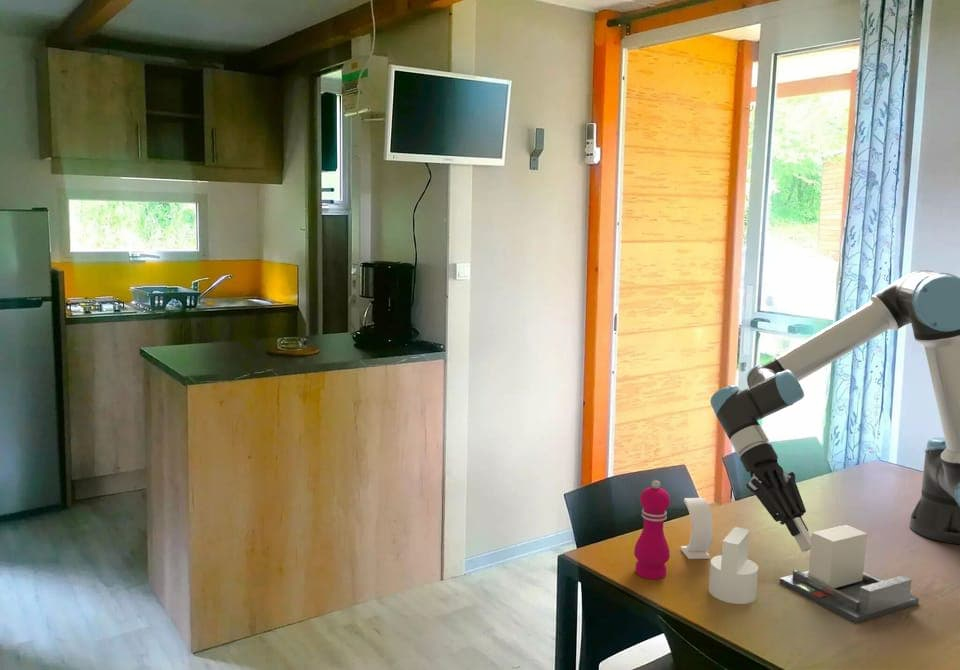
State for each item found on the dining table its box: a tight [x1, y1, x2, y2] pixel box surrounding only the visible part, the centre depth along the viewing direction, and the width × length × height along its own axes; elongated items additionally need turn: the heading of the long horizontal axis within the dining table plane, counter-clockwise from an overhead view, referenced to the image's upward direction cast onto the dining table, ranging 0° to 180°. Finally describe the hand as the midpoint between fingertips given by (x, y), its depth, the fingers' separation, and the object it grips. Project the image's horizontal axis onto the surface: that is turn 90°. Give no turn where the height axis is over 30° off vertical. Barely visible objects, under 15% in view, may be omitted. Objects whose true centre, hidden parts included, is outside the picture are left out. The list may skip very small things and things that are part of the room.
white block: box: [808, 524, 868, 588], centre depth 163 cm, size 10×6×10 cm, turn 118°
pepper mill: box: [633, 480, 671, 580], centre depth 166 cm, size 7×7×20 cm
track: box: [779, 569, 920, 625], centre depth 160 cm, size 18×18×6 cm
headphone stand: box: [680, 497, 714, 560], centre depth 177 cm, size 5×6×12 cm
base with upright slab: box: [708, 526, 759, 605], centre depth 159 cm, size 9×9×12 cm
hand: (808, 548), depth 169 cm, fingers closed
